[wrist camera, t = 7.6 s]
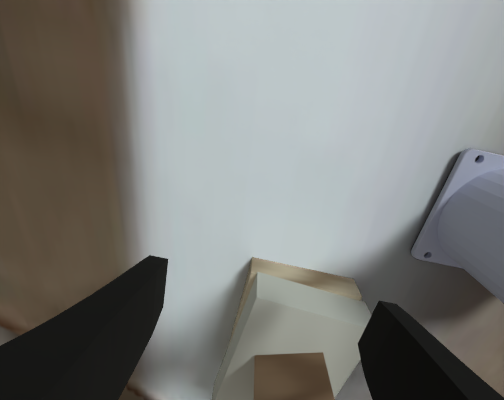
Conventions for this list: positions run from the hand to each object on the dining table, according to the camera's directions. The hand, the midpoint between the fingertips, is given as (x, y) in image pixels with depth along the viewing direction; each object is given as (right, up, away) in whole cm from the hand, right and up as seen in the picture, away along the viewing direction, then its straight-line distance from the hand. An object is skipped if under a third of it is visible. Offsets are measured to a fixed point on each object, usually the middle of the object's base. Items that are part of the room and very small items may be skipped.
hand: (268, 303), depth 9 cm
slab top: (+2, -8, +12) cm, 14 cm away
